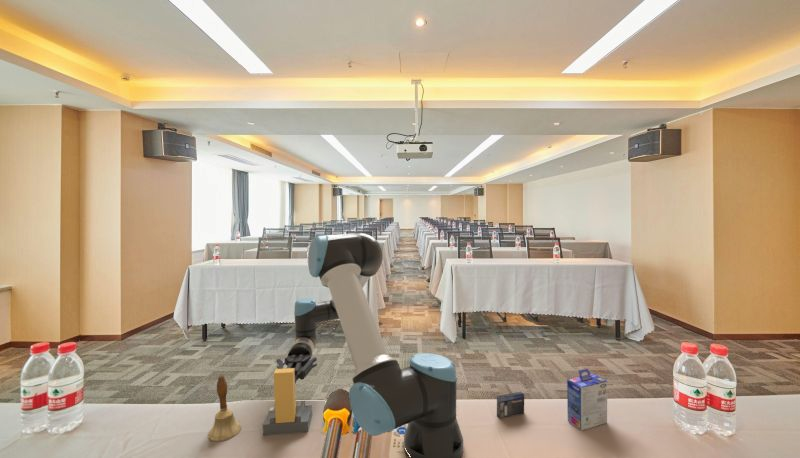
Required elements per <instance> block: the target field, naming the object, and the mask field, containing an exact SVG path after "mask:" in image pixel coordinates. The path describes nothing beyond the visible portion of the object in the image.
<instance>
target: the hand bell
mask: <svg viewBox="0 0 800 458" xmlns="http://www.w3.org/2000/svg"><path fill="white" fill-rule="evenodd" d="M216 392H217V396H218V397H219V408H220V409H219V411H217V412H216V413H215V415H214V423H213V425H212V428H211V429H210V430H209V431H208V435H207V437H208V439H209V440H210V441H213V442H224V441H227V440H229V439H232V438H234V437H236V435H238V434H240V432H241V430H242V425H241V423H240V422H239V421H237V420H236V418H235V414H234V410H232V409H231V408H228V404H227V394H228V384H227V380H226V379H225V375H219V376H218V379H217V382H216Z"/></svg>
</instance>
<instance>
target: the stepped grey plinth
mask: <svg viewBox="0 0 800 458" xmlns="http://www.w3.org/2000/svg"><path fill="white" fill-rule="evenodd" d="M312 417H313V404H307V405H306V400H304V401H303V400H301V401H300V403H299V405H296V419H295V422H285V423H276V418H275V406H274V407H273V406H272V407H269V411H268V413H267V414H266V416H265V419H264V421H263V423H262V435H263V436H270V435H283V434H284V435H285V434H295V433H308V432H309V430H310V427H311V423H312V422H311V421H312Z"/></svg>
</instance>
